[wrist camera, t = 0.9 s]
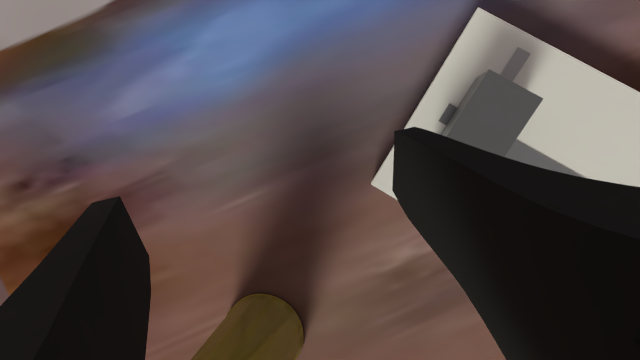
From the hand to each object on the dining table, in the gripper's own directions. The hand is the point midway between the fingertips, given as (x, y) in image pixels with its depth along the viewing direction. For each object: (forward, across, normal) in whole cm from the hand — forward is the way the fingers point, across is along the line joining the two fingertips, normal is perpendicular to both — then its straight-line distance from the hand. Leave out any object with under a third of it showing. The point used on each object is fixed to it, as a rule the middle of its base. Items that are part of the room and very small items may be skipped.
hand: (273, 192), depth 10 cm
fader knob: (+8, -13, +5) cm, 16 cm away
